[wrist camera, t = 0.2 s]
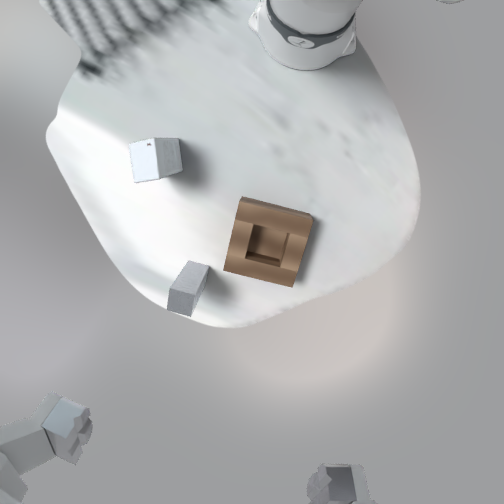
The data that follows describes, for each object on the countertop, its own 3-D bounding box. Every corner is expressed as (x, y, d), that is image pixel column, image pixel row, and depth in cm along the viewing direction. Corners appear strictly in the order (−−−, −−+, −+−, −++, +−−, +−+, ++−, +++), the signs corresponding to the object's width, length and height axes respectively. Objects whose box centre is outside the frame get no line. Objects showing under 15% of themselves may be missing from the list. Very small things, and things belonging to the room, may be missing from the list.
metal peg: (188, 260, 58) (169, 288, 46) (209, 265, 58) (194, 294, 47) (185, 279, 59) (166, 309, 48) (205, 284, 59) (190, 316, 48)
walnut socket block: (242, 196, 53) (239, 201, 49) (309, 213, 54) (313, 220, 49) (227, 260, 57) (223, 270, 53) (290, 275, 58) (292, 287, 53)
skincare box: (156, 142, 51) (127, 142, 40) (179, 137, 51) (154, 136, 39) (160, 175, 53) (133, 183, 42) (183, 171, 52) (160, 179, 41)
